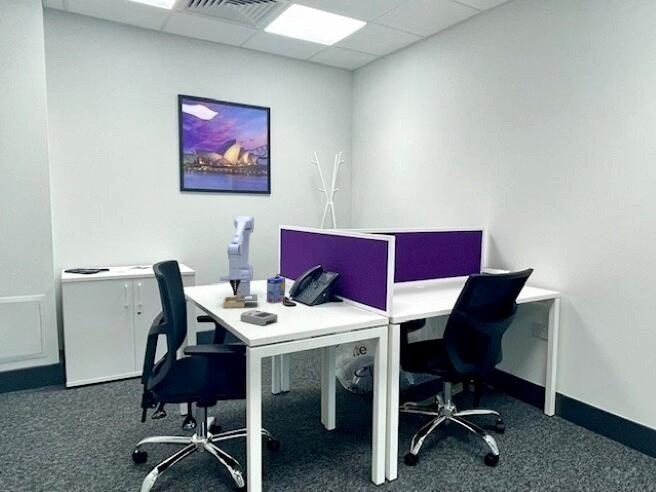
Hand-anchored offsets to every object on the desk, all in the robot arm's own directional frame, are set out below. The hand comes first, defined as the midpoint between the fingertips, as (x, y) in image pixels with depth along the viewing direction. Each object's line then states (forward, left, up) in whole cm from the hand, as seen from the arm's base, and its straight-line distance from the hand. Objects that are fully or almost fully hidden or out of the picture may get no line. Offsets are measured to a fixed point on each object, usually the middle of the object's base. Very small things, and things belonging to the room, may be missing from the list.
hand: (235, 295), depth 221 cm
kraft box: (0, -1, -5) cm, 5 cm away
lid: (0, +6, -2) cm, 6 cm away
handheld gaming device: (+32, +11, -6) cm, 34 cm away
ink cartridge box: (-7, +20, -5) cm, 22 cm away
